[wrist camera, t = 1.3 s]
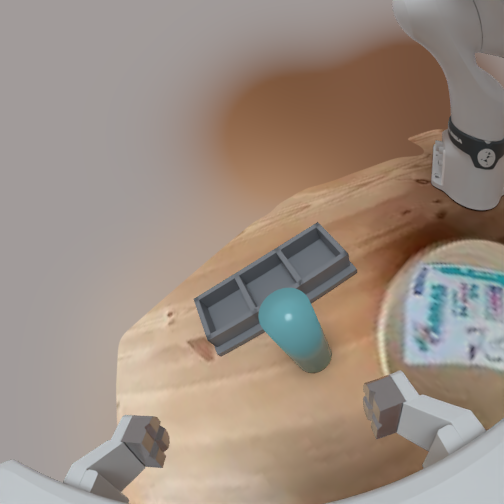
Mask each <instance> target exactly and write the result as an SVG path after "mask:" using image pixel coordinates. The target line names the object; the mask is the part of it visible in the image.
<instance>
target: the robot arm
mask: <svg viewBox="0 0 504 504" xmlns="http://www.w3.org/2000/svg"><path fill="white" fill-rule="evenodd" d="M392 7H393V12H394V15H395V18H396V20H397V22H398V24H399V25H400V26H401V28H402V29H403V30H404V31H405V32H406V34H407V35H409V36H410V37H411V38H412V39H414V40H415V41H417V42H418V43H420V44H421V45H422V46H424V47H425V48H426V49H427V50H428V51H429V52H430V53H431V54H432V55H433V56H434V57H435V58H436V60H437V61H438V62H439V64H440V66H441V67H442V69H443V71H444V73H445V76H446V79H447V82H448V87H449V93H450V101H451V116H450V118H449V122H448V129H447V130H445V131H443V132H442V142H441V141H437V140H436V141H435V145H434V146H433V162H432V176H431V184H432V185H433V186H435V187H437V188H439V189H441V190H443V191H444V192H445V193H446V194H447V195H448V196H449V197H451V198H452V199H453V200H454V201H456V202H457V203H459V204H461V205H463V206H465V207H467V208H470V209H475V210H488V209H491V208H494V207H495V206H496V205H497V204H498V203H499V201H500V198H501V196H502V195H504V89H503V87H502V86H501V84H500V83H499V82H498V81H497V80H496V79H495V78H494V77H492V76H491V75H490V74H489V73H487V72H486V71H484V70H483V69H481V68H480V67H479V66H478V65H477V63H476V60H475V53H476V52H481V53H485V54H490V55H494V56H498V57H502V58H504V0H393V2H392ZM363 391H364V393H365V396H364V398H363V406H364V411H365V414H366V417H367V419H368V420H370V421H372V422H371V429H372V431H373V433H374V435H375V438H376V439H379V438H382V437H385V436H387V435H390V434H393V433H396V432H397V433H398V434H399V435H401V436H403V437H404V438H406V439H408V440H409V441H411V442H413V443H415V444H416V445H418V446H420V447H422V448H423V449H425V450H427V451H429V452H428V455H427V457H426V459H425V461H424V463H423V465H422V466H423V468H424V469H422V470H420V471H418V472H416V473H414V474H411V475H409V476H407V477H405V478H402V479H400V480H398V481H395V482H393V483H390V484H387V485H385V486H382V487H379V488H377V489H374V490H371V491H368V492H365V493H362V494H358V495H355V496H352V497H348V498H344V499H341V500H337V501H333V502H329V503H324V504H504V418H503V419H502V420H500V421H499V422H498V423H497V424H495V425H494V426H493V427H491V428H490V429H489V430H487V431H486V430H485V429H484V427H483V426H482V425H481V423H480V422H479V421H478V419H477V418H476V417H475V415H474V414H473V413H472V411H471V410H468V409H464V408H461V407H458V406H455V405H452V404H449V403H446V402H443V401H440V400H437V399H434V398H431V397H429V396H426V395H420V396H419V394H418V393H417V392H416V390H415V389H414V387H413V386H412V384H411V383H410V382H409V380H408V379H407V377H406V376H405V375H404V373H403V372H402V371H397V372H395V373H392V374H389V375H387V376H384V377H381V378H378V379H376V380H373V381H370V382H367V383H364V386H363ZM169 443H170V442H169V435H168V432H167V431H166V429H165V428H163V427H162V426H160V421H159V419H158V418H157V417H154V416H135V415H134V416H133V415H124V416H123V417H122V418H121V420H120V422H119V424H118V426H117V429H116V430H115V432H114V434H113V437H112V439H111V441H109V440H108V441H106V442H105V443H103V444H102V445H100V446H99V447H97V448H96V449H94V450H93V451H91V452H90V453H88V454H87V455H85V456H84V457H82V458H81V459H79V460H78V461H76V462H75V463H73V464H72V466H71V468H70V470H69V472H68V473H67V475H66V477H65V479H64V481H63V483H62V482H60V481H57V480H55V479H53V478H51V477H48V476H46V475H44V474H42V473H40V472H38V471H36V470H33V469H32V468H30V467H28V466H26V465H24V464H22V463H20V462H19V461H16V460H9V461H6V462H3V463H1V464H0V504H129V499H128V498H127V497H126V496H125V495H123V494H122V493H121V491H122V490H123V489H124V488H125V487H126V486H127V485H129V484H130V483H131V482H132V481H133V480H134V479H135V478H136V477H137V476H138V475H139V474H140V473H141V472H142V471H143V470H144V469H145V467H158V468H163V465H164V461H165V458H166V455H165V453H164V452H165V451H166V450H167V449H168V447H169Z"/></svg>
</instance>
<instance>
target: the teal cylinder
mask: <svg viewBox="0 0 504 504" xmlns="http://www.w3.org/2000/svg"><path fill="white" fill-rule="evenodd" d="M258 317H259V323H260V325H261V327H262V328H263V329H264V331H265V332H266V333H267V334H268V335H269V336H270V337H271V338H272V339H273V340H274V341H275V342H276V343H277V344H278V345H279V346H280V348H281V349H282V350H283V351H284V352H285V353H286V354H287V355H288V356H289V357H290V358H291V359H292V360H293V361H294V362H295V363H296V364H297V365H298V366H299V367H300V368H301V369H302V370H303V371H305V372H308V373H316V372H320V371H322V370H323V369H325V368H326V367H327V366H328V364H329V363H330V360H331V356H332V353H331V349H330V347H329V344H328V342H327V339H326V337H325V335H324V333H323V330H322V328H321V326H320V323H319V321H318V319H317V316H316V314H315V312H314V310H313V307H312V305H311V303H310V301H309V299H308V297H307V296H306V294H304V293H303V292H302V291H300V290H298V289H295V288H282V289H279V290H276V291H274V292H273V293H271V294H270V295H269V296H267V297H266V298H265V300H264V301H263V303H262V304H261V306H260V309H259V316H258Z"/></svg>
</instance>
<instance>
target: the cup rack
mask: <svg viewBox="0 0 504 504" xmlns="http://www.w3.org/2000/svg"><path fill="white" fill-rule="evenodd" d="M356 273H357V269H356V268H355V267H354V265H353V264H352V263H351V262H350V261H349V255H348V253H347V252H346V251H345V250H344V249H343V248H342V247H341V246H340V245H339V244H338V243H337V241H336V240H335V239H334V238H333V237H332V236H331V235H330V234H329V233H328V232H327V231H326V230H325V229H324V228H323V227H322V226H321V225H320V224H319V223H318V222H317V223H316V224H314V225H312V226H311V227H309V228H308V229H306V230H304V231H303V232H301V233H300V234H298V235H296V236H295V237H293V238H292V239H290V240H288V241H287V242H285V243H284V244H282V245H280V246H279V247H277V248H276V249H274V250H272V251H271V252H269V253H268V254H266V255H264V256H263V257H261V258H260V259H258V260H256V261H255V262H253V263H251V264H250V265H248V266H247V267H245V268H243V269H242V270H240V271H239V272H237V273H235V274H234V275H232V276H230V277H229V278H227V279H226V280H224V281H222V282H221V283H219V284H217V285H216V286H214V287H212V288H211V289H209V290H208V291H206V292H204V293H203V294H201V295H199V296H198V297H196V298H195V299H194V301H195V304H196V307H197V310H198V314H199V317H200V319H201V322H202V325H203V328H204V331H205V334H206V337H207V340H208V341H209V342H211V343H212V344H213V345H214V346H215V349H216V352H217V354H218V355H219V356H223V355H224V354H226V353H228V352H230V351H232V350H234V349H235V348H237V347H239V346H241V345H243V344H244V343H246V342H248V341H250V340H251V339H253V338H255V337H257V336H258V335H260V334H262V333H264V332H265V331H264V329H263V328H262V327H261V325H260V323H259V317H258V316H259V309H260V306H261V304H262V303H263V301H264V300H265V298H266V297H267V296H269V295H270V294H271V293H273V292H274V291H276V290H279V289H282V288H295V289H298V290H300V291H302V292H303V293H304V294H306V296H307V297H308V299H309V301H310V303H312V302H314V301H315V300H317V299H319V298H320V297H322V296H323V295H325V294H326V293H328V292H329V291H331V290H332V289H334V288H335V287H337V286H338V285H340V284H341V283H343V282H344V281H345V280H347V279H348V278H350V277H351V276H353V275H354V274H356Z"/></svg>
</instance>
